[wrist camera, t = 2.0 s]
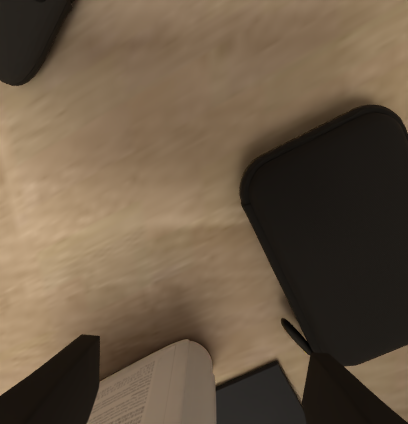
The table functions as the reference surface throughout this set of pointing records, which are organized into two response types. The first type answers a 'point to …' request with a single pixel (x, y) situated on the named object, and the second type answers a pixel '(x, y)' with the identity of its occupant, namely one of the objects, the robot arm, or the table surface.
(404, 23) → the table surface
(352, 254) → the carrying case
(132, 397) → the photo printer
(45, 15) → the gaming controller
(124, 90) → the table surface
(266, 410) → the desk pad
